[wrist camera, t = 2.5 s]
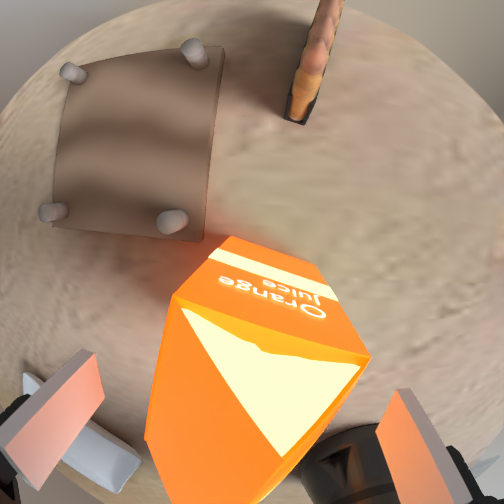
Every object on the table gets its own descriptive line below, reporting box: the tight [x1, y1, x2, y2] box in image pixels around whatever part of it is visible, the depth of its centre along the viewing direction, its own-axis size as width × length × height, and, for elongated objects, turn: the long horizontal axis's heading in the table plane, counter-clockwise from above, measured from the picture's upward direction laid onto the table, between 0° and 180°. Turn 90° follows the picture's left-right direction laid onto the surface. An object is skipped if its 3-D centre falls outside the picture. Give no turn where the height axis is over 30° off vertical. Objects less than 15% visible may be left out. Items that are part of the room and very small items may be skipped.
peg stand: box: [38, 38, 225, 242], centre depth 20 cm, size 17×16×4 cm
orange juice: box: [144, 236, 371, 504], centre depth 14 cm, size 8×9×20 cm
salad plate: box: [23, 372, 142, 494], centre depth 30 cm, size 21×21×3 cm
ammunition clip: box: [284, 0, 344, 125], centre depth 14 cm, size 11×2×12 cm, turn 163°
